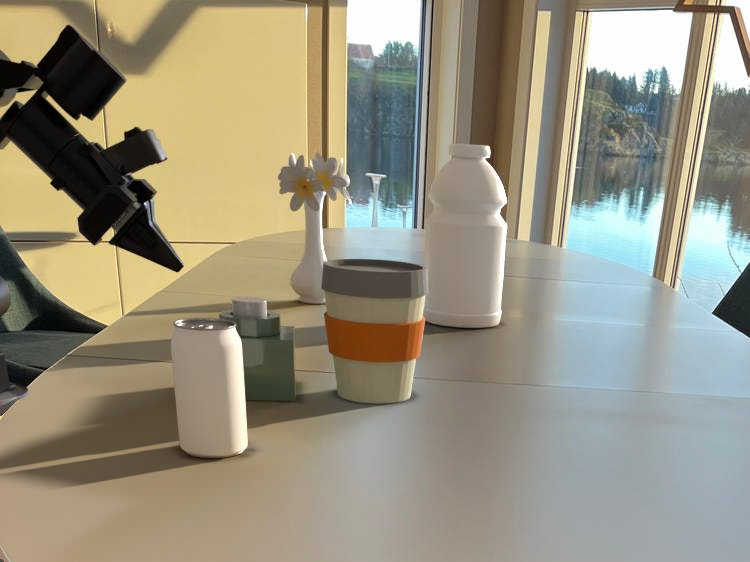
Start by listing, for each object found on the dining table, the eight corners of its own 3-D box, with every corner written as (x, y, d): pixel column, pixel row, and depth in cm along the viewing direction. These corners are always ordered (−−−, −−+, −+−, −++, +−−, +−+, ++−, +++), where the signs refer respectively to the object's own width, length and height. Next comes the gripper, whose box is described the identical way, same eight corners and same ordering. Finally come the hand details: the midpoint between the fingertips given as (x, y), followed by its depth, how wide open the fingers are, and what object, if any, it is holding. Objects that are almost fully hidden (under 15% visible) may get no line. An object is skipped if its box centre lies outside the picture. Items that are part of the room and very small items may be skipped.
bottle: (430, 312, 174) (436, 142, 161) (504, 319, 173) (516, 147, 160) (415, 324, 162) (420, 141, 149) (494, 331, 161) (506, 146, 148)
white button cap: (231, 320, 108) (230, 301, 108) (233, 314, 112) (232, 296, 111) (266, 321, 109) (266, 302, 108) (268, 315, 113) (267, 297, 112)
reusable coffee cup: (302, 390, 116) (298, 260, 109) (378, 378, 124) (379, 256, 117) (369, 412, 109) (370, 274, 102) (445, 398, 117) (451, 269, 110)
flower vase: (278, 308, 169) (272, 151, 157) (285, 293, 185) (279, 150, 173) (352, 311, 170) (351, 156, 159) (352, 296, 186) (351, 154, 175)
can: (260, 446, 95) (254, 322, 89) (224, 463, 89) (215, 332, 84) (204, 436, 96) (195, 314, 91) (166, 452, 91) (153, 324, 85)
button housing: (208, 399, 110) (202, 319, 106) (214, 381, 118) (209, 306, 113) (295, 401, 111) (292, 322, 107) (296, 383, 119) (293, 309, 115)
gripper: (95, 93, 90) (223, 224, 97) (128, 99, 106) (235, 211, 113) (22, 180, 93) (151, 301, 100) (64, 172, 109) (173, 277, 116)
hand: (181, 269), depth 107 cm, fingers closed
